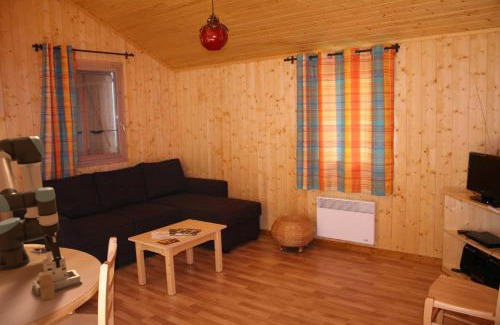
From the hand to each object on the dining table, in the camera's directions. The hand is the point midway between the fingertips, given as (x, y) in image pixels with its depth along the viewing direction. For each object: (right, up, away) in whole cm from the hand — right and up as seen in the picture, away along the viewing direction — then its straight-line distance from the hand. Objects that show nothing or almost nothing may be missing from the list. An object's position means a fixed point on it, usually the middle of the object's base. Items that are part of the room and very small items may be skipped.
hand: (55, 269), depth 183 cm
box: (+2, -9, -11) cm, 14 cm away
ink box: (+1, -7, +1) cm, 7 cm away
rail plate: (+1, -7, +1) cm, 7 cm away
